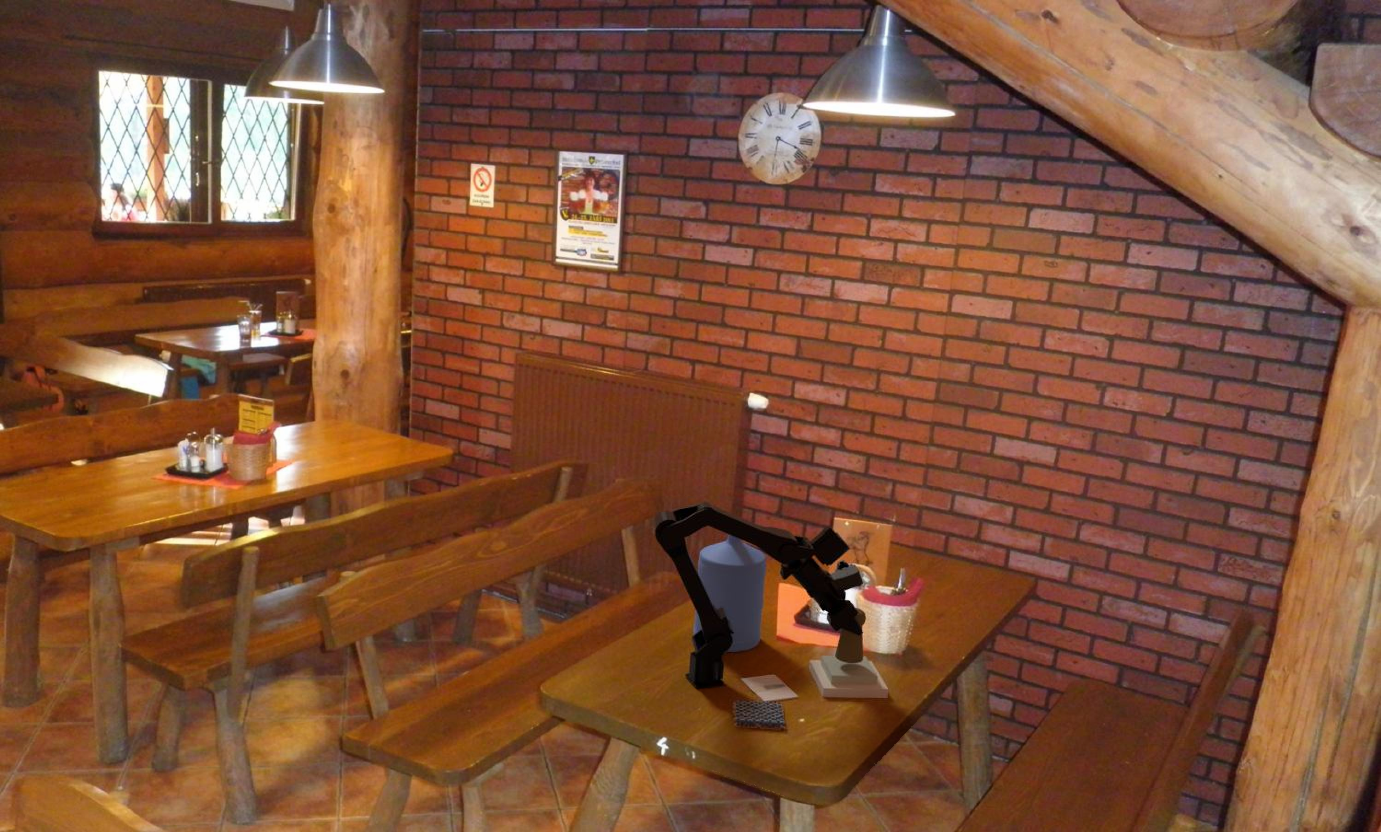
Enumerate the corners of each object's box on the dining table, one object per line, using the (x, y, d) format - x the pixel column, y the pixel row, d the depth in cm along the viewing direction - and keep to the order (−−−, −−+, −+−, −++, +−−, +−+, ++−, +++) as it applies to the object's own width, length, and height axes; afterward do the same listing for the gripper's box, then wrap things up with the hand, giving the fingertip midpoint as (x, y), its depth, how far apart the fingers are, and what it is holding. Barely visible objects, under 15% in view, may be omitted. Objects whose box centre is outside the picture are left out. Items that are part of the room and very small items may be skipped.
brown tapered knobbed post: (868, 661, 252) (874, 613, 250) (844, 664, 250) (849, 616, 247) (853, 650, 258) (858, 603, 255) (829, 653, 255) (835, 605, 253)
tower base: (822, 696, 247) (824, 679, 247) (809, 668, 261) (810, 651, 260) (887, 697, 249) (889, 680, 248) (870, 669, 263) (872, 652, 262)
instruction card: (762, 702, 243) (763, 700, 243) (740, 679, 253) (740, 678, 253) (798, 697, 246) (798, 696, 246) (774, 675, 256) (774, 673, 256)
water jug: (772, 648, 270) (782, 532, 264) (711, 657, 263) (720, 538, 257) (740, 623, 284) (749, 512, 278) (681, 630, 277) (689, 517, 271)
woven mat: (782, 708, 242) (783, 699, 242) (786, 733, 232) (787, 724, 231) (731, 705, 242) (732, 696, 241) (733, 730, 232) (734, 721, 231)
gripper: (853, 569, 239) (899, 622, 243) (832, 539, 257) (875, 589, 261) (811, 604, 240) (858, 656, 244) (793, 572, 258) (837, 621, 262)
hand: (858, 628), depth 252 cm, fingers closed on brown tapered knobbed post, 5 cm apart
